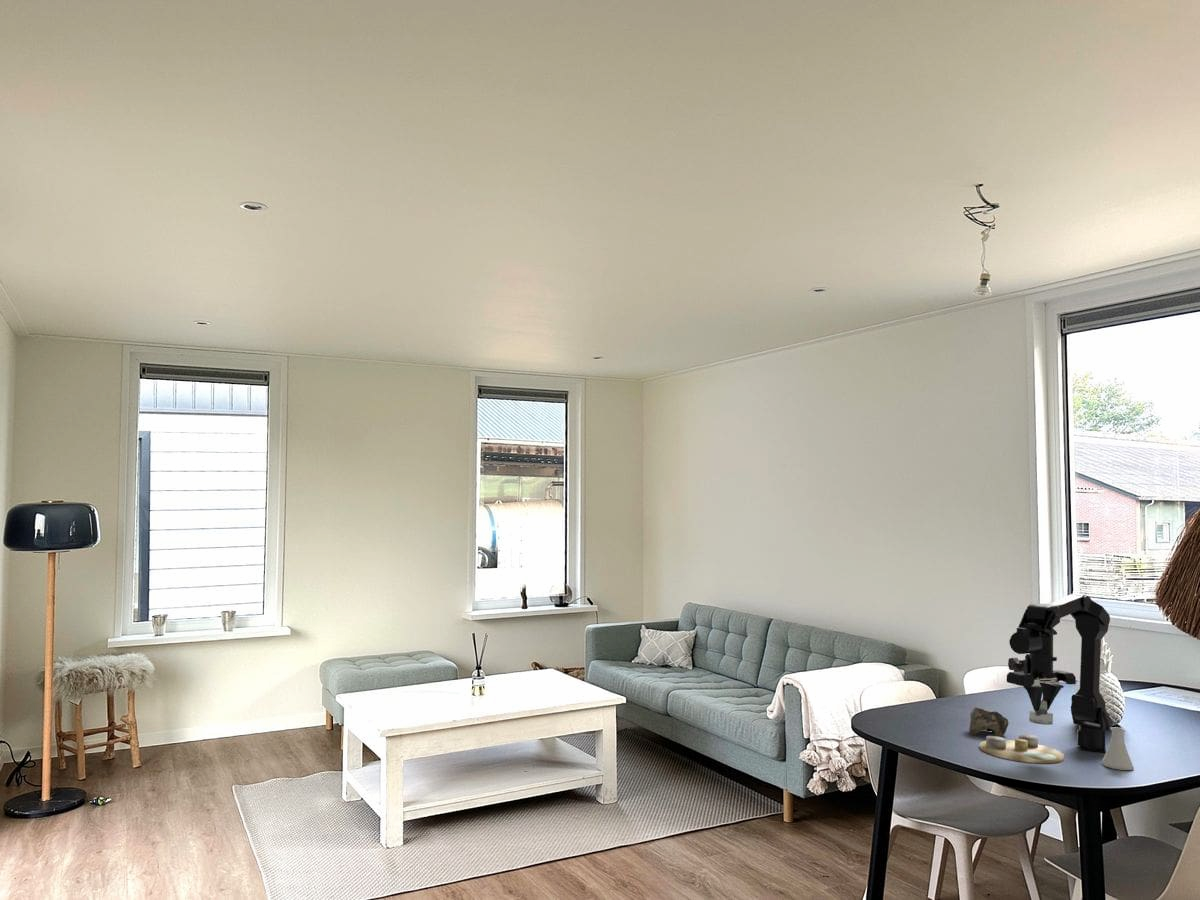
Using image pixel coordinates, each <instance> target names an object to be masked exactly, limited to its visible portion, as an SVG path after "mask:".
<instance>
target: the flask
mask: <svg viewBox="0 0 1200 900" xmlns="http://www.w3.org/2000/svg"><path fill="white" fill-rule="evenodd" d="M1110 731H1111V735H1110V736H1111V737H1110V740H1109V741H1110V742H1109V745H1108V747H1107V749H1106V752H1105V754H1104V756H1103V758H1102V761H1101V764H1102V765H1103V766H1104V767H1107V768H1110V769H1113V770H1121V771H1132V770H1135V768H1134V766H1133V763H1132V759H1131V757H1130V754H1129V752H1128V750H1127V747H1126V743H1125V738H1124V735H1125V734H1124V733H1125V732H1126V730H1125V729H1124V728H1122V727H1115V726H1114V727H1113V726H1112V727H1110Z"/></svg>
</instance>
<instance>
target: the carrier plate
mask: <svg viewBox="0 0 1200 900" xmlns="http://www.w3.org/2000/svg"><path fill="white" fill-rule="evenodd" d="M1017 736H1018V737H1017V738H1015V739H1014V740H1011V739H1006V738H1004V737H997V736H996V735H986V738H985V740H982V741H981V742H980V743H979V749H980V750H981V751H982V752H984V753H986V754H988V755H991V756H993V757H997V758H1001V759H1004V760H1005V759H1006V760H1010V761H1015V762H1021V763H1029V764H1031V763H1032V764H1056V763H1057V764H1058V763H1061V762H1064V760H1065V754H1064V753H1063V752H1061V750H1058V749H1055V748H1052V747H1049V746H1046V745H1042V744H1039V737H1038V736H1036V735H1032V734H1027V733H1026V734H1025V733H1024V734H1023V733H1021V734H1018V735H1017Z"/></svg>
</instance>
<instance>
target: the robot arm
mask: <svg viewBox="0 0 1200 900" xmlns="http://www.w3.org/2000/svg"><path fill="white" fill-rule="evenodd" d="M1067 616H1072V618H1073V619H1074V620H1075V621H1074V622H1075V629H1076V630H1077V632H1078V634H1079V636H1080V637H1081V644H1080V671H1079V672H1080V673H1079V674H1080V675H1079V689H1078V690H1077V692H1076V693H1075V694H1072V696H1071V706H1070V713H1071V718H1072V722H1073V724H1074V725H1077V726H1079V728H1078V729H1077V730H1076V731H1077V733H1076V734H1077V735H1076V737H1077V739H1076V744H1077V746H1078V747H1079V750H1085V751H1092V752H1100V753H1106V752H1107V749H1106V731H1111V729H1110V727H1113V723H1114V722H1113V720H1112V717H1110V715H1109V713H1108V711H1107V709H1106V707H1107V706H1106V701H1105V699H1104V697H1103V695H1102V694H1101V692H1100V678H1101V653H1102V652H1101V651H1102V650H1101V649H1102V639H1104V637H1105V636H1106V635H1107V632H1108V631H1109V624H1110V622H1111V616H1110V614H1109V613H1108V611H1107V610H1106V609H1105V608H1104V606H1102V605H1100V604H1099V603H1097V601H1094V600H1093V599H1092V598H1091V597H1090V596H1089V595H1087V594H1083V593H1081V594H1080V593H1071V594H1067V596H1064V597H1062V598H1059V599H1057V600H1054V601H1051V602H1049V603H1031V604H1028V606H1027V607H1026V609H1025V611H1024V613H1023V615H1022V617H1021V619H1020V622H1019V625H1018V627H1016V632H1014V633H1012V635H1011V636H1010V639H1009V642H1008V643H1009V647H1010V649H1011V650H1012V651H1013V652H1014V653H1015V654H1018V655H1025V656H1024V659H1022V660H1021V659H1019V658H1018V657H1010V658H1008V663H1007V666H1008V670H1010V671H1008V673H1007V674H1006V683H1008V684H1009V683H1010V684H1013V685H1017V686H1020V687H1023V688H1024V689H1025V690H1026V692H1027V695H1028V697H1029V700H1030V702H1031V705H1032V707H1033V708H1032V709H1033V710H1035V711H1038V710H1039V707H1040V703H1041V699H1046V700H1047V712H1049V709H1051V706H1052V705H1053V702H1054V701H1055V699H1056V698H1057V695H1058V694H1059V693H1060V691H1061V690H1062V689H1063V688H1064V687H1065V686H1064V685H1062V684H1060V683H1061V682H1065V684H1066V685H1076V683H1077V682H1076V679H1077V678H1076V676H1075V674H1074V673H1073V672H1069V671H1066V670H1065V671H1064V670H1060V669H1058V670H1055V669H1054V662H1057V661H1058V659H1057V658H1058V657H1057V656H1054V636H1057V635H1058V632H1057V630H1056V629H1054V628H1055V627H1056V626H1057V625H1059V624H1060V623H1061V619H1062V618H1065V617H1067Z"/></svg>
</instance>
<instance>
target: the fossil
mask: <svg viewBox="0 0 1200 900" xmlns="http://www.w3.org/2000/svg"><path fill="white" fill-rule="evenodd" d="M1008 727H1009V720H1008V718H1007V717H1005V716H1004V715H1002V714H1001V713H999V712H998V711H997V710H996V711H995V710H993V711H990V710H986V709H984V708H982V707H977V706H976V707H974V708H973V709H972V711H971V712H970V722H969V729H968V731H969V733H970V734H971V735H972V736H975V735H976V734H978V733H979V732H981V731H984V730H987V731H992V732H991V733H993V732H994V736H997V737H1002V738H1004V736H1005V734H1006V732H1007V729H1008ZM987 731H986V732H987Z"/></svg>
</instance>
